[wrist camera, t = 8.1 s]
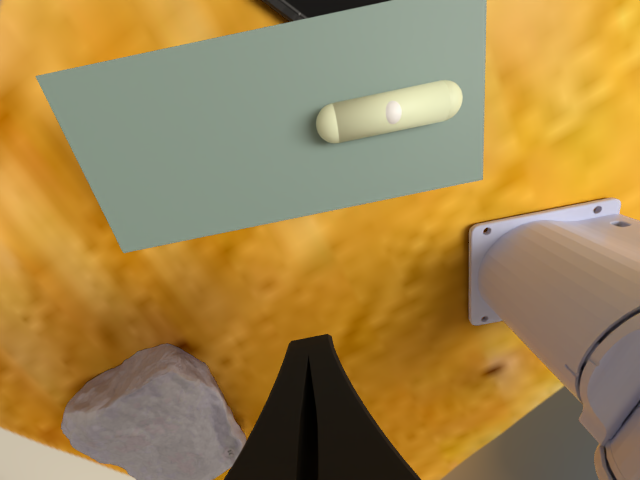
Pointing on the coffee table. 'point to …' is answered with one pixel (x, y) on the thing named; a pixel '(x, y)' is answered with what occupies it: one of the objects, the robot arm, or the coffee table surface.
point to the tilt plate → (279, 120)
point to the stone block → (156, 418)
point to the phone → (315, 7)
